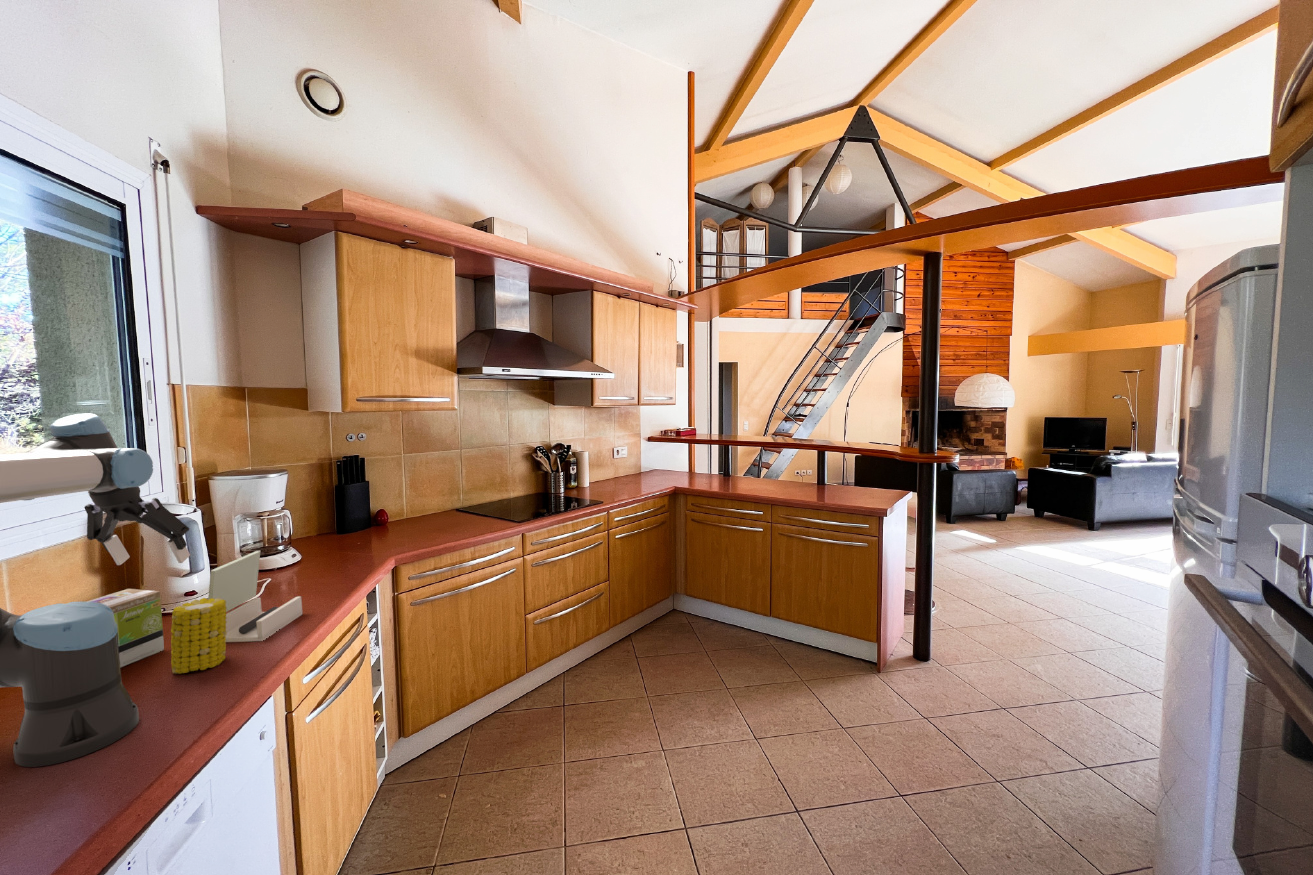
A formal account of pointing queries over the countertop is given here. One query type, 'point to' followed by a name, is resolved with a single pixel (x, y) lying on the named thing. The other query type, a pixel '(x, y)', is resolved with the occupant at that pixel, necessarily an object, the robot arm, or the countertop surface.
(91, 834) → the countertop surface
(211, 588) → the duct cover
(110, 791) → the countertop surface
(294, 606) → the cable duct
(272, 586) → the countertop surface
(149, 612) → the tea box
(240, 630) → the dark grey rod
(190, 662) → the food
